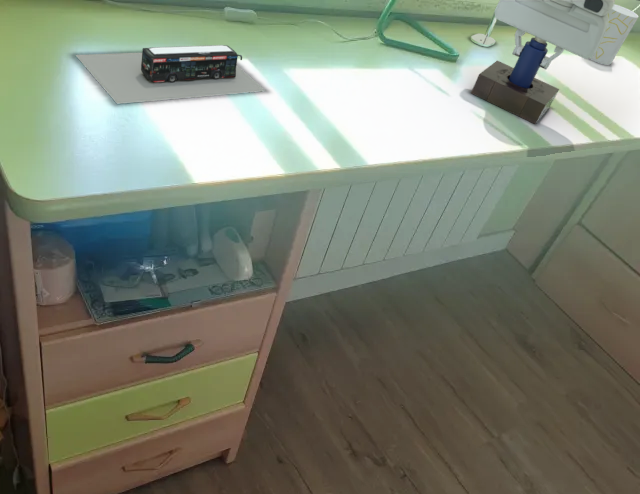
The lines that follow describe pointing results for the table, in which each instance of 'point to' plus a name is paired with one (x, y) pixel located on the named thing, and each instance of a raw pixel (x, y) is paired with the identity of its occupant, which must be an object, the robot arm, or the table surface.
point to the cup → (615, 34)
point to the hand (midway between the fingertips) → (529, 61)
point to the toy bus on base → (170, 73)
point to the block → (514, 93)
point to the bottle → (528, 62)
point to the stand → (486, 35)
